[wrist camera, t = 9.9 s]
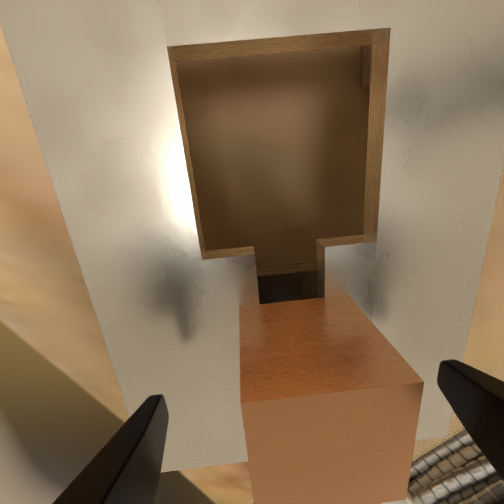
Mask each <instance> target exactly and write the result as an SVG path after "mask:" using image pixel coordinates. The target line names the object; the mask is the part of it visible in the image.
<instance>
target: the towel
mask: <svg viewBox="0 0 504 504" xmlns="http://www.w3.org/2000/svg"><path fill="white" fill-rule="evenodd" d="M407 491H408V493H409V495H410V496H411V498H412V500H413V502H414V504H504V481H503V480H502V478H501V477H500V476H499V474H498V473H497V472H496V470H495V469H494V468H493V466H492V465H491V464H490V462H489V461H488V460H487V458H486V457H485V456H484V454H483V453H482V452H481V450H480V449H479V448H478V446H477V445H476V444H475V442H474V441H473V440H472V438H471V437H470V435H469V434H468V432H467V431H466V429H465V430H463V431H461V432H460V433H459V434H457V435H456V436H454V437H451V438H450V439H449V440H448V441H446V442H444V443H443V444H441V445H439V446H438V447H436V448H434V449H433V450H431V451H430V452H428V453H427V454H425V455H423V456H422V457H420V458H419V459H417V460H416V461H414V462H412V464H411V470H410V476H409V483H408V489H407Z"/></svg>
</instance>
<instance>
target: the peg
mask: <svg viewBox="0 0 504 504" xmlns="http://www.w3.org/2000/svg"><path fill="white" fill-rule="evenodd" d="M256 271H257V282H258V293H259V303H260V304H259V305H250V306H241V307H239V337H240V404H241V411H242V418H243V426H244V433H245V440H246V448H247V455H248V462H249V469H250V477H251V484H252V491H253V499H254V504H377V503H385V502H393V501H400V500H406V495H407V489H408V483H409V476H410V470H411V464H412V457H413V451H414V445H415V438H416V432H417V426H418V419H419V413H420V407H421V400H422V394H423V388H424V381H423V380H422V379H421V377H420V376H419V375H418V374H417V373H416V372H415V371H414V369H413V368H412V367H411V366H410V365H409V364H408V363H407V361H406V360H405V359H404V358H403V357H402V356H401V355H400V354H399V352H398V351H397V350H396V349H395V348H394V347H393V346H392V344H391V343H390V342H389V341H388V340H387V339H386V338H385V336H384V335H383V334H382V333H381V332H380V331H379V330H378V328H377V327H376V326H375V325H374V324H373V323H372V322H371V321H370V319H369V318H368V317H367V316H366V315H365V314H364V313H363V311H362V310H361V309H360V308H359V307H358V306H357V305H356V303H355V302H354V301H353V300H352V299H351V298H350V297H349V295H342V296H333V297H324V298H317V262H311V263H301V264H292V265H282V266H273V267H263V268H256Z"/></svg>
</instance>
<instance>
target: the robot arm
mask: <svg viewBox="0 0 504 504" xmlns="http://www.w3.org/2000/svg"><path fill="white" fill-rule="evenodd" d="M437 384H438V387H439V389H440V390H441V392H442V393H443V395H444V396H445V398H446V400H447V401H448V403H449V404H450V406H451V407H452V409H453V410H454V412H455V414H456V415H457V417H458V418H459V420H460V421H461V423H462V425H463V426H464V428H465V429H466V431H467V432H468V434H469V435H470V437H471V438H472V440H473V441H474V442H475V444H476V445H477V446H478V448H479V449H480V450H481V452H482V453H483V454H484V456H485V457H486V458H487V460H488V461H489V462H490V464H491V465H492V466H493V468H494V469H495V470H496V472H497V473H498V474H499V476H500V477H501V478H502V480H503V481H504V382H503V381H501V380H499V379H497V378H495V377H492V376H490V375H488V374H486V373H484V372H482V371H480V370H477V369H475V368H473V367H471V366H469V365H467V364H464V363H462V362H460V361H458V360H455V359H450V360H443V361H441V362H440V364H439V370H438V376H437ZM168 422H169V413H168V409H167V405H166V401H165V398H164V395H163V394H156V395H150V396H149V397H148V398H147V399H146V400H145V401H144V402H143V403H142V404H141V405H140V407H139V408H138V409H137V410H136V411H135V412H134V413H133V414H132V415H131V417H130V418H129V419H128V420H127V421H126V422H125V423H124V424H123V425H122V427H121V428H120V429H119V430H118V431H117V432H116V433H115V434H114V435H113V437H112V438H111V439H110V440H109V441H108V442H107V443H106V444H105V445H104V447H103V448H102V449H101V450H100V451H99V452H98V453H97V454H96V456H95V457H94V458H93V459H92V460H91V461H90V462H89V463H88V464H87V465H86V467H85V468H84V469H83V470H82V471H81V472H80V473H79V474H78V476H77V477H76V478H75V479H74V480H73V481H72V482H71V483H70V484H69V486H68V487H67V488H66V489H65V490H64V491H63V492H62V493H61V494H60V496H59V497H58V498H57V499H56V500H55V501H54V502H53V503H52V504H154V500H155V496H156V492H157V488H158V484H159V479H160V473H161V467H162V461H163V454H164V448H165V441H166V435H167V428H168Z"/></svg>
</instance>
